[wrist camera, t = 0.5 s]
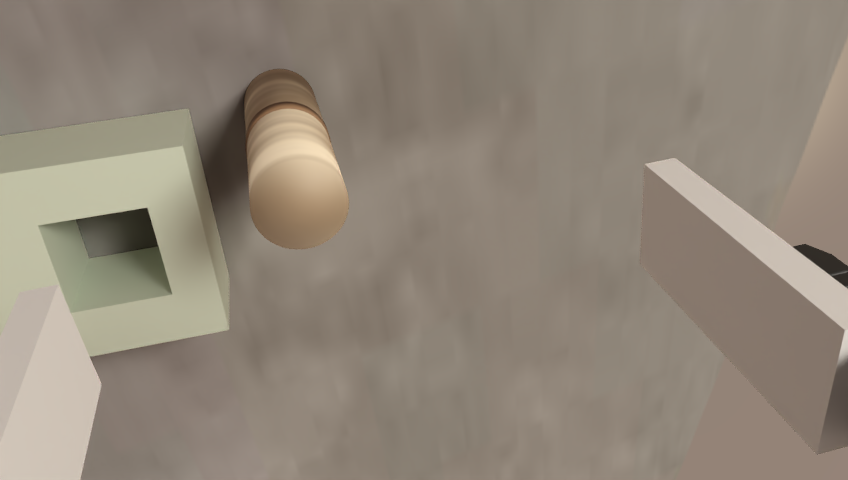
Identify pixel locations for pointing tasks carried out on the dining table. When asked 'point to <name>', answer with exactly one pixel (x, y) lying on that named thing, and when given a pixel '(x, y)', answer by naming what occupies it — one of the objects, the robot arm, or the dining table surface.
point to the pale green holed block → (104, 194)
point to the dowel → (291, 163)
